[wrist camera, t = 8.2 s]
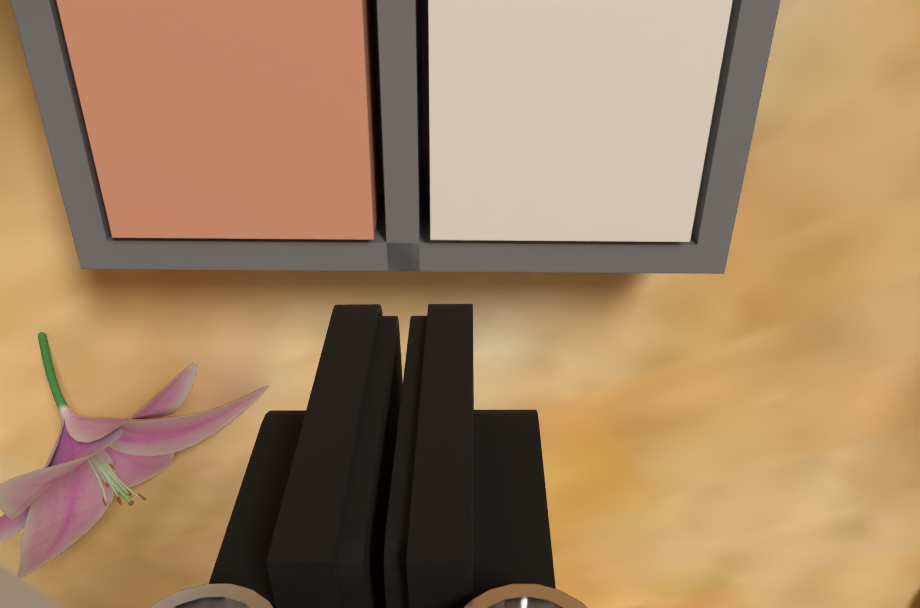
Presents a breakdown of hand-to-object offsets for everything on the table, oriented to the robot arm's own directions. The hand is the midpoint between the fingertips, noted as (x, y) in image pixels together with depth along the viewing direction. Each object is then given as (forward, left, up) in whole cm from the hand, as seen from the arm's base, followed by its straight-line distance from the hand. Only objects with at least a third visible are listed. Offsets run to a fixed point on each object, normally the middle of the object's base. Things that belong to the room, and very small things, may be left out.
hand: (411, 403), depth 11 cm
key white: (-1, -4, -17) cm, 17 cm away
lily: (-15, +12, -19) cm, 27 cm away
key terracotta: (-1, +6, -17) cm, 18 cm away
